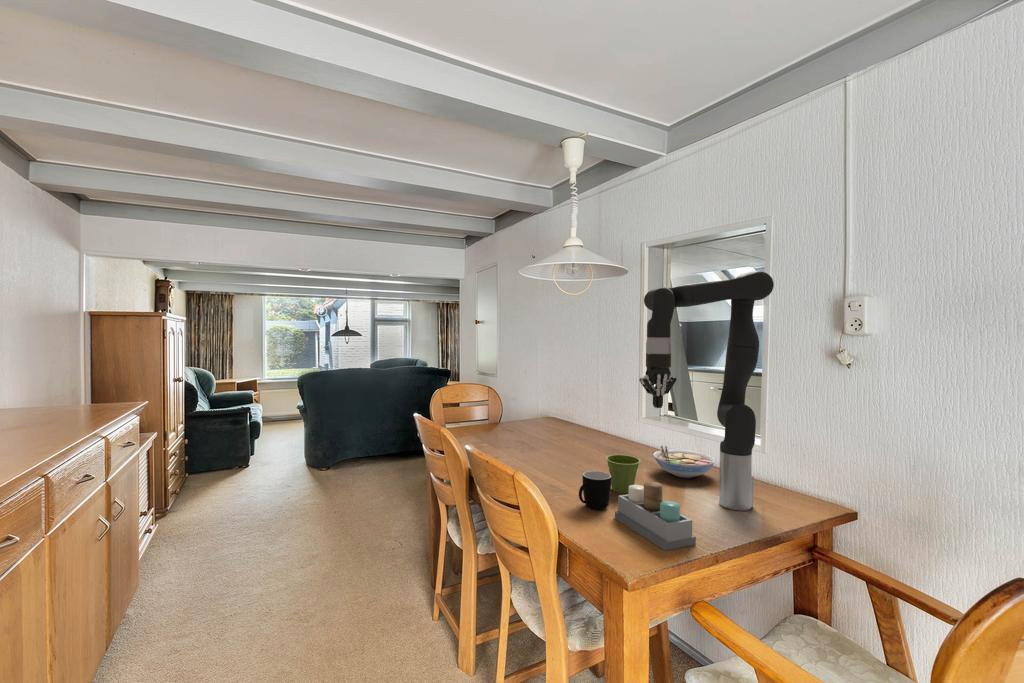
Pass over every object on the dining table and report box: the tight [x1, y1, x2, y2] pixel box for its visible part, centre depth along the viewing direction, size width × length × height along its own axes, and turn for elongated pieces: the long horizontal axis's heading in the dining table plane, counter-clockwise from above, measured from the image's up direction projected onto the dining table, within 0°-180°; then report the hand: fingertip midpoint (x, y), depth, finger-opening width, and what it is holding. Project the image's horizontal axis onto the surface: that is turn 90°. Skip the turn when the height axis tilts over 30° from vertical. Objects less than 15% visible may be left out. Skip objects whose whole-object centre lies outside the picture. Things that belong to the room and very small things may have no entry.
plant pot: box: [605, 454, 641, 495], centre depth 158 cm, size 12×12×11 cm
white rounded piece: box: [629, 484, 644, 504], centre depth 133 cm, size 5×5×6 cm
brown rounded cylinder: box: [643, 481, 664, 512], centre depth 126 cm, size 5×5×6 cm
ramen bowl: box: [653, 445, 716, 479], centre depth 176 cm, size 25×23×8 cm
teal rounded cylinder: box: [660, 500, 681, 523], centre depth 119 cm, size 5×5×6 cm
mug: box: [578, 470, 612, 511], centre depth 142 cm, size 12×9×10 cm
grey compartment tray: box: [614, 493, 697, 552], centre depth 126 cm, size 10×22×6 cm, turn 21°
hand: (657, 407), depth 141 cm, fingers closed
